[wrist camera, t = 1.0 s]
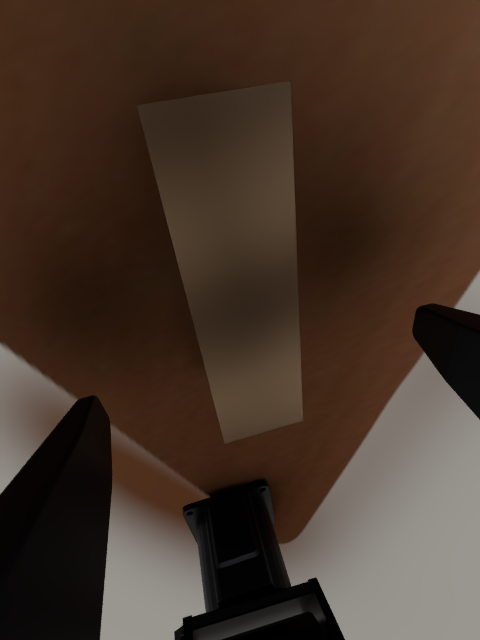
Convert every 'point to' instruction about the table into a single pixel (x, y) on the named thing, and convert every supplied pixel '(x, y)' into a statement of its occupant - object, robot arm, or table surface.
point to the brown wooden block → (235, 244)
